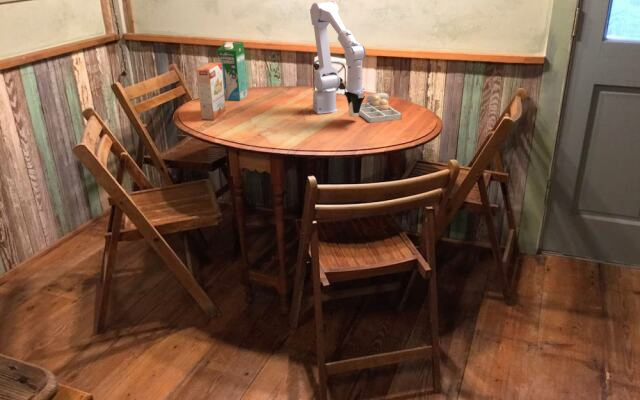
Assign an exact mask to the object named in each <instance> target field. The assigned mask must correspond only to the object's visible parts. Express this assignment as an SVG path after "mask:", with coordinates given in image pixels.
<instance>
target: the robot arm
mask: <svg viewBox="0 0 640 400" xmlns="http://www.w3.org/2000/svg"><path fill="white" fill-rule="evenodd" d="M309 14H310V20H311V25H312V26H313V30H314V31H313V32H314V39H315V46H316V52H317V53H316V54H317V59H318V68H317V70H316V71H315V72H314V81H313V84H314V88H315V89H316V90H317V91H313V93H312V105H313V107H312V110H313V111H314V112H315V113H316V114H317V115H321V114H330V113H336V112H340V110H339V109H337V105H336V104H337V101H336V100H337V91H338V88H339V87H340V85H341V77H340V75H339V72H338V69H337V68H335V67H334V66H333V64H332V57H331V50H330V43H329V35H328V28H327V27H328V25H329V24H330V25H331V27H332V28H333V30H334V31H335V32H336V33H337V40H338V42H339V45H341V48H342V49H343V51H344V59H345V65H346V66H347V74H346V75H347V77H346V80H347V81H346V82H347V83H346V84H345V89H346V91H345V92H344V96H345V97H346V100H347V105H348V106H349V104H350V102H351V101H352V105H353V112H354V113H359V111H360V107H361V104H362V103H364V102H363V101H364V100H365V99H366V96H365V93H364V91H365V90H366V89H365V87H364V86H363V60H365V59H366V55H367V51H366V48H365V45H363V44H361V43H360V42H358V41H357V40H356V38H355V37H354V35H353V33H352V32H351V30H349V29H346V27H345V25H344V22H343V20H342V19H341V17H340V9H339V6H338V4H337V2H336V1H335V0H332V1H325V2H323V1H322V2H313V3H312V4H311V7H310V9H309Z"/></svg>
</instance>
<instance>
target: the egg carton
mask: <svg viewBox="0 0 640 400" xmlns="http://www.w3.org/2000/svg"><path fill="white" fill-rule="evenodd" d="M402 114H403V113H401V112H399V111H398V110H396V109H394V108H393V107H391V106H390V105H388V110H385V111H379V106H376V107H373V106H372V105H371V102H369V103H367V102H362V104H361V107H360V111H359V116H360V117H361V118H363V119H365V120H366V121H367V122H368V123H370V124H371V123H381V122H388V121H397V120H402V118H403V117H402Z"/></svg>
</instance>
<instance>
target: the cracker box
mask: <svg viewBox="0 0 640 400" xmlns="http://www.w3.org/2000/svg"><path fill="white" fill-rule="evenodd" d="M196 77H197V87H198V96H199V107H200V116H201V120H206V121H207V120H210V121H214V120H216V119H217V118H218V117H220V115H223V113H224V112H225V111H226V100H225V98H224V86H223V73H222V63H219V62H208V63H206V64H204V65H203V66H201V67H199V68H197V69H196Z"/></svg>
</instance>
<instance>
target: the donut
mask: <svg viewBox="0 0 640 400" xmlns="http://www.w3.org/2000/svg"><path fill="white" fill-rule="evenodd" d="M373 95H379V96H380V98H381V99H386V100H387V101H389V99H390V97H389V94H388V93H386V92H378V93H377V92H376V93H373V94H369V95H367V96H366V97H365V101H366V103H369V102H371V98H372V96H373Z"/></svg>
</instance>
